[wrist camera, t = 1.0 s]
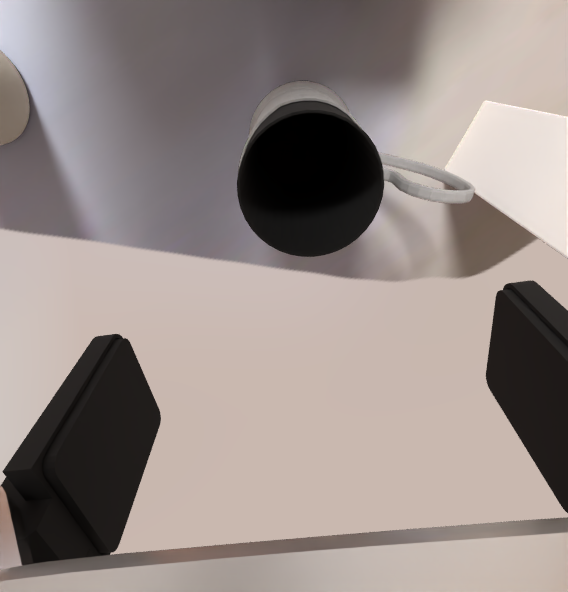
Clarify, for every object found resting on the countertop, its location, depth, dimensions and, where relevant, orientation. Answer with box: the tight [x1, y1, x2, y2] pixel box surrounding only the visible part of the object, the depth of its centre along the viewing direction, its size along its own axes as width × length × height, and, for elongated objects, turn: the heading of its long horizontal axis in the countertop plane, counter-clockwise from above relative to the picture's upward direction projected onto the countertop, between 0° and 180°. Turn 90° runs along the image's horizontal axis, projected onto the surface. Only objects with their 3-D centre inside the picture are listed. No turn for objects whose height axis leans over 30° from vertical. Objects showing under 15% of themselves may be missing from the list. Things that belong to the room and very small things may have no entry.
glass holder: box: [237, 81, 475, 257], centre depth 27 cm, size 9×14×15 cm, turn 84°
